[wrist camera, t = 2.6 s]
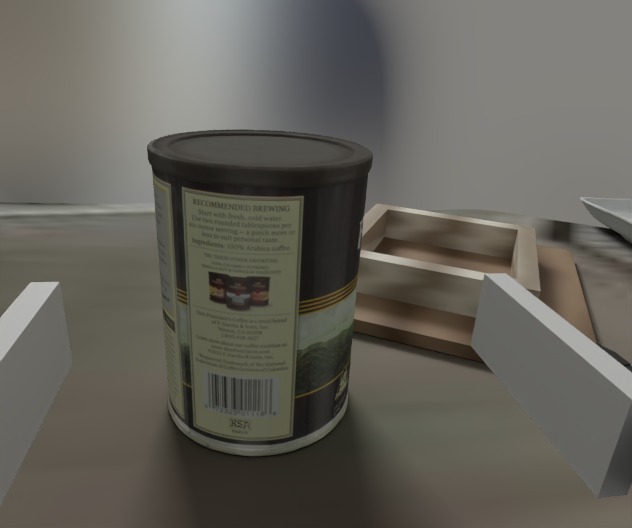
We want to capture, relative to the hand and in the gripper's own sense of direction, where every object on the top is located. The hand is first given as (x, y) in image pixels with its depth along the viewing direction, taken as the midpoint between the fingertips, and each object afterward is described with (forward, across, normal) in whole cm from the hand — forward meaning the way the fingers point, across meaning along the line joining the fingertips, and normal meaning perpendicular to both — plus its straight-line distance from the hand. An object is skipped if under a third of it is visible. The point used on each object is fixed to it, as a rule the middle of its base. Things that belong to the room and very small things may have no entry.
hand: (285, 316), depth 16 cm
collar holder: (+25, +16, -10) cm, 31 cm away
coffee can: (+10, 0, -11) cm, 15 cm away
